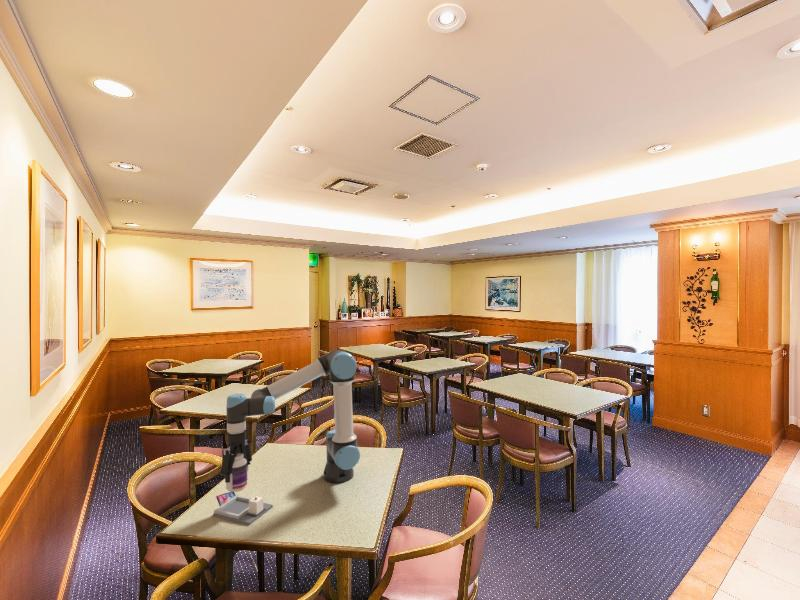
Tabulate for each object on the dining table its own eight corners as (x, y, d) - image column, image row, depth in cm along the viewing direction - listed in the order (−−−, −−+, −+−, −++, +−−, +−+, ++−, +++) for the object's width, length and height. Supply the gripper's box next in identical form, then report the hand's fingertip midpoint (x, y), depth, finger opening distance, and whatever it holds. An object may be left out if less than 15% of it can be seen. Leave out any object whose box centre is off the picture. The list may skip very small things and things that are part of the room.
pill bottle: (251, 485, 167) (251, 452, 167) (237, 494, 159) (237, 459, 159) (236, 482, 170) (235, 450, 170) (222, 491, 162) (222, 457, 162)
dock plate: (272, 507, 167) (272, 490, 167) (249, 525, 154) (249, 507, 154) (238, 499, 173) (237, 483, 173) (213, 516, 160) (212, 499, 160)
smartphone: (221, 510, 164) (215, 495, 177) (221, 511, 164) (215, 497, 177) (240, 504, 169) (233, 490, 181) (240, 506, 169) (233, 492, 181)
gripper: (247, 422, 175) (247, 472, 176) (209, 438, 156) (210, 494, 156) (260, 424, 173) (261, 475, 173) (224, 440, 153) (225, 497, 153)
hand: (237, 484), depth 164 cm, fingers closed on pill bottle, 8 cm apart
